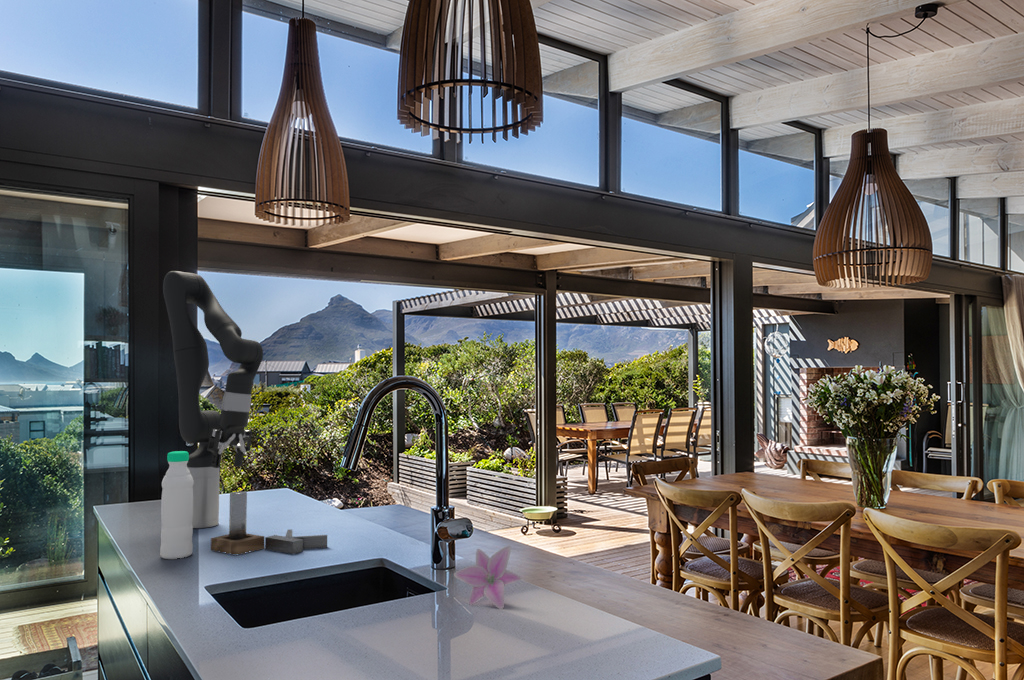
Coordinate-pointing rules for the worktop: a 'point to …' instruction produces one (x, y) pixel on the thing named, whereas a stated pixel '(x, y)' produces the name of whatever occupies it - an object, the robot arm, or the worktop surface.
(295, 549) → the v block
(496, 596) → the lily
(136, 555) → the worktop surface
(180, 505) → the water bottle
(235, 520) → the gray rectangular bar
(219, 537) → the brown wooden open box
